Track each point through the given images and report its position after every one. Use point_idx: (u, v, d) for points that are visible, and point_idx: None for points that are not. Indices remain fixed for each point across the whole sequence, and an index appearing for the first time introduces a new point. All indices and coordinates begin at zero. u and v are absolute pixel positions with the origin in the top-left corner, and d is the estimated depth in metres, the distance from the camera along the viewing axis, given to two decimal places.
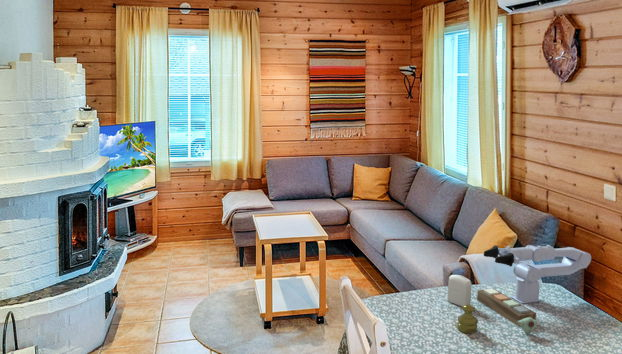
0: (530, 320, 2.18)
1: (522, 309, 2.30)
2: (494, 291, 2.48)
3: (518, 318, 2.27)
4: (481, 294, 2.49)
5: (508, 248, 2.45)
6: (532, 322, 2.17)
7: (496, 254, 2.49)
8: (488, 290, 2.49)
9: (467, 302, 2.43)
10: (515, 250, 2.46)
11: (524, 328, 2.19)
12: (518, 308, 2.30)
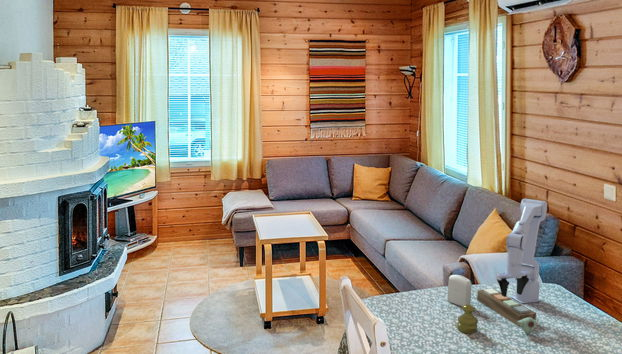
0: (530, 320, 2.18)
1: (522, 309, 2.30)
2: (494, 291, 2.48)
3: (518, 318, 2.27)
4: (481, 294, 2.49)
5: None
6: (532, 322, 2.17)
7: None
8: (488, 290, 2.49)
9: (467, 302, 2.43)
10: (520, 269, 2.32)
11: (524, 328, 2.19)
12: (518, 308, 2.30)
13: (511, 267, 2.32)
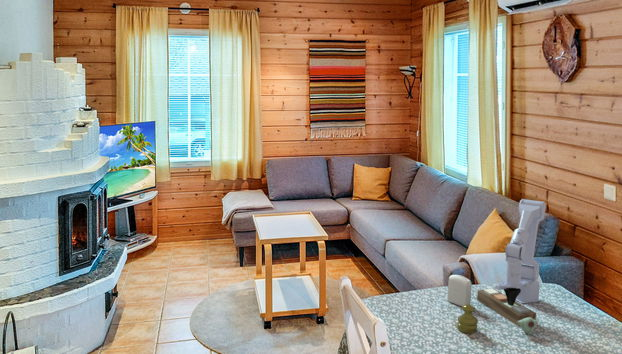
0: (530, 320, 2.18)
1: (522, 309, 2.30)
2: (494, 291, 2.48)
3: (518, 318, 2.27)
4: (481, 294, 2.49)
5: None
6: (532, 322, 2.17)
7: None
8: (488, 290, 2.49)
9: (467, 302, 2.43)
10: (519, 279, 2.33)
11: (524, 328, 2.19)
12: (518, 308, 2.30)
13: (510, 277, 2.33)
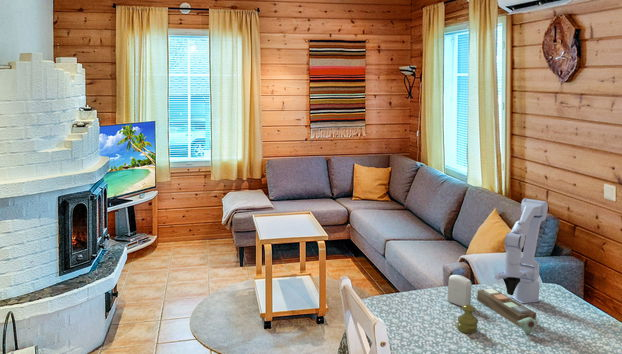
0: (530, 320, 2.18)
1: (522, 309, 2.30)
2: (494, 291, 2.48)
3: (518, 318, 2.27)
4: (481, 294, 2.49)
5: None
6: (532, 322, 2.17)
7: None
8: (488, 290, 2.49)
9: (467, 302, 2.43)
10: (519, 268, 2.33)
11: (524, 328, 2.19)
12: (518, 308, 2.30)
13: (510, 266, 2.33)
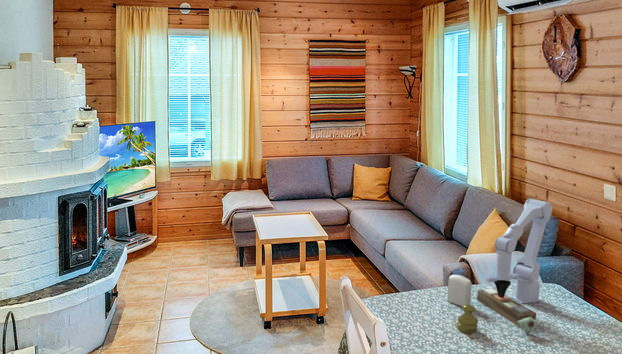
0: (530, 320, 2.18)
1: (522, 309, 2.30)
2: (494, 291, 2.48)
3: (518, 318, 2.27)
4: (481, 294, 2.49)
5: None
6: (532, 322, 2.17)
7: None
8: (488, 290, 2.49)
9: (467, 302, 2.43)
10: (509, 271, 2.39)
11: (524, 328, 2.19)
12: (518, 308, 2.30)
13: (500, 270, 2.38)
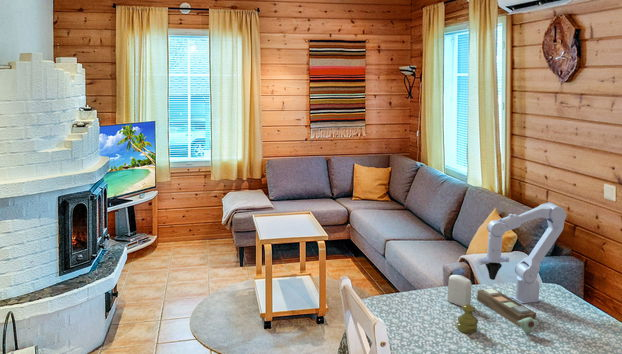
0: (530, 320, 2.18)
1: (522, 309, 2.30)
2: (494, 291, 2.48)
3: (518, 318, 2.27)
4: (481, 294, 2.49)
5: None
6: (532, 322, 2.17)
7: None
8: (488, 290, 2.49)
9: (467, 302, 2.43)
10: (500, 254, 2.47)
11: (524, 328, 2.19)
12: (518, 308, 2.30)
13: (491, 252, 2.47)
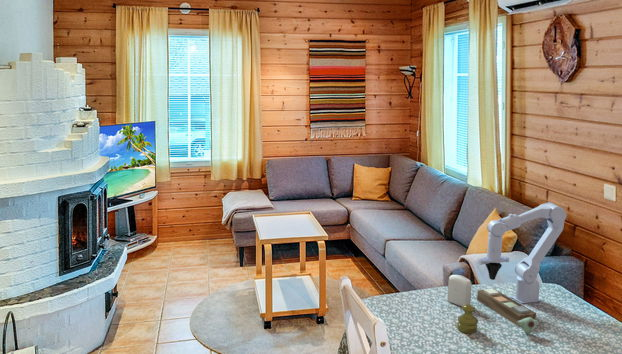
0: (530, 320, 2.18)
1: (522, 309, 2.30)
2: (494, 291, 2.48)
3: (518, 318, 2.27)
4: (481, 294, 2.49)
5: None
6: (532, 322, 2.17)
7: None
8: (488, 290, 2.49)
9: (467, 302, 2.43)
10: (500, 254, 2.47)
11: (524, 328, 2.19)
12: (518, 308, 2.30)
13: (491, 252, 2.47)
